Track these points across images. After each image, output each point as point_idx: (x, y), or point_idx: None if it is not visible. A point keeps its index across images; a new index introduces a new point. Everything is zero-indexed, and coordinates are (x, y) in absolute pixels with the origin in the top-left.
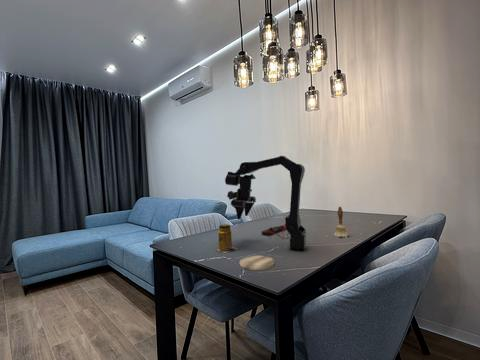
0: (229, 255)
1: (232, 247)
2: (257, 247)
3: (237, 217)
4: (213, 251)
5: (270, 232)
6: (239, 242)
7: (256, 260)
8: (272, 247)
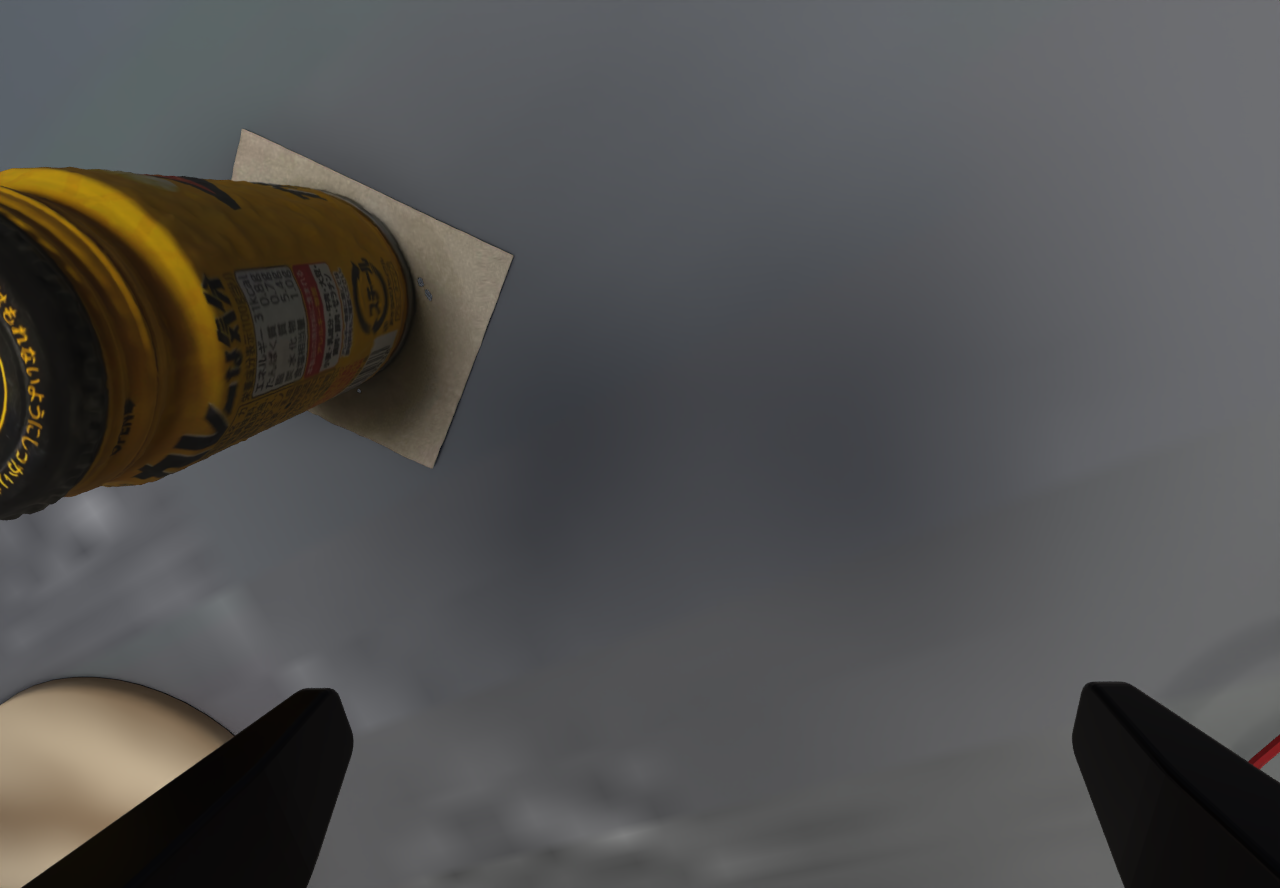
0: None
1: (468, 330)
2: (625, 659)
3: (249, 726)
4: (171, 139)
5: (1265, 747)
6: (787, 290)
7: None
8: (695, 819)
